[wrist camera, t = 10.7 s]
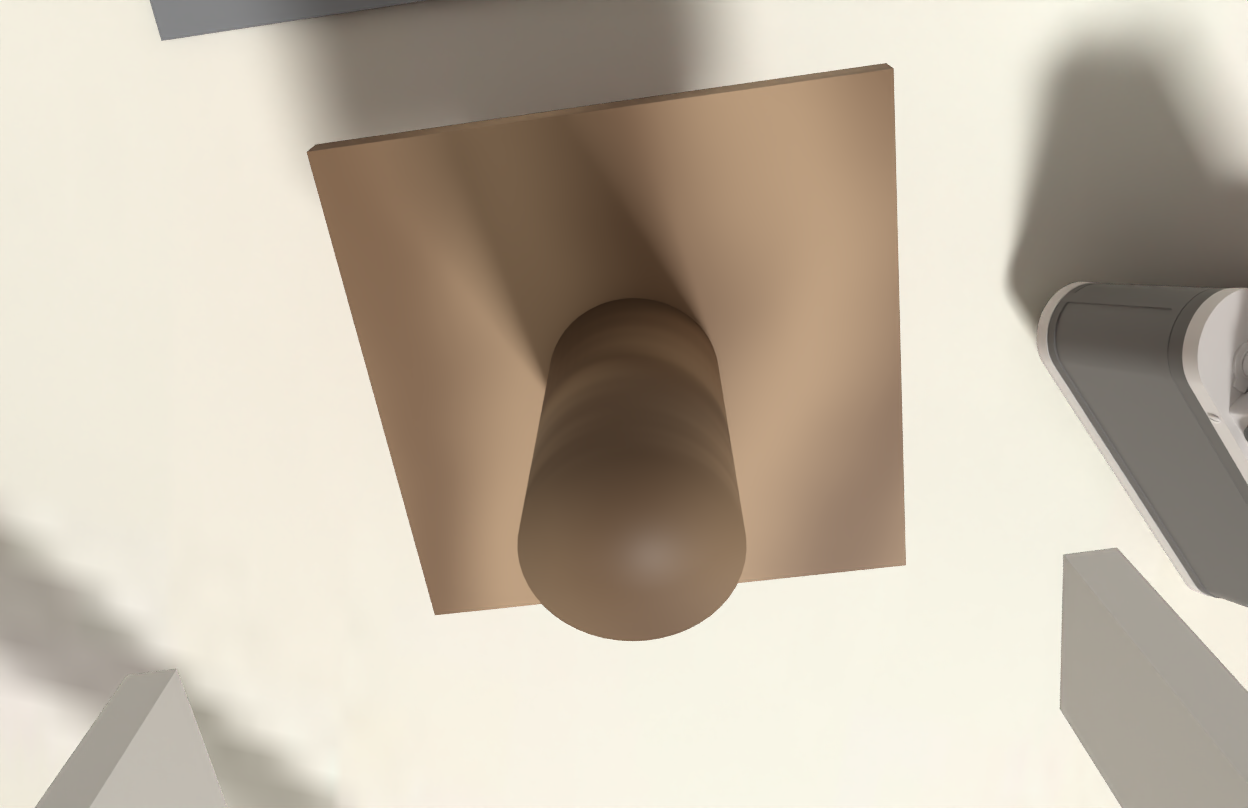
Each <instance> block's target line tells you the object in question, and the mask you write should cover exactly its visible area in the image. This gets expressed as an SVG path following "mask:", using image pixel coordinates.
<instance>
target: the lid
mask: <svg viewBox="0 0 1248 808" xmlns="http://www.w3.org/2000/svg"><path fill="white" fill-rule="evenodd" d="M307 155H308V158H309V162H310V165H311V169H312V173H313V176H314V180H315V183H316V187H317V191H318V194H319V198H320V202H321V205H322V209H323V212H324V216H325V220H326V223H327V227H328V230H329V234H330V238H331V241H332V245H333V248H334V252H335V256H336V259H337V263H338V267H339V270H340V274H341V277H342V281H343V285H344V288H345V292H346V295H347V299H348V303H349V306H350V310H351V314H352V317H353V321H354V324H355V328H356V332H357V335H358V339H359V342H360V346H361V350H362V353H363V357H364V360H365V364H366V368H367V371H368V375H369V379H370V382H371V386H372V389H373V393H374V397H375V400H376V404H377V407H378V411H379V415H380V418H381V422H382V425H383V429H384V433H385V436H386V440H387V444H388V447H389V451H390V454H391V458H392V462H393V465H394V469H395V472H396V476H397V480H398V483H399V487H400V490H401V494H402V498H403V501H404V505H405V509H406V512H407V516H408V519H409V523H410V527H411V530H412V534H413V537H414V541H415V545H416V548H417V552H418V556H419V559H420V563H421V566H422V570H423V574H424V577H425V581H426V584H427V588H428V592H429V595H430V599H431V602H432V606H433V610H434V613H435V615H441V614H450V613H460V612H469V611H479V610H488V609H498V608H507V607H516V606H526V605H535V604H542V605H543V606H544V607H545V608H546V609H548V610H549V611H550V612H551V613H552V614H553V615H554V616H556V617H557V618H559V619H560V620H562V621H563V622H565V623H566V624H568V625H570V626H572V627H574V628H576V629H578V630H581V631H583V632H586V633H588V634H591V635H595V636H598V637H602V638H607V639H613V640H622V641H644V640H652V639H659V638H663V637H667V636H671V635H674V634H677V633H680V632H682V631H685V630H687V629H689V628H691V627H693V626H695V625H697V624H699V623H700V622H702V621H703V620H705V619H706V618H708V617H709V616H711V615H712V614H713V613H714V612H715V611H716V610H717V609H719V608H720V607H721V606H722V604H723V603H724V602H725V601H726V600H727V599H728V598H729V596H730V595H731V593H732V592H733V590H734V589H735V587H736V585H737V583H742V582H752V581H761V580H771V579H780V578H789V577H799V576H808V575H818V574H827V573H836V572H846V571H855V570H865V569H874V568H884V567H893V566H902V565H906V551H905V511H904V471H903V431H902V390H901V350H900V310H899V270H898V229H897V189H896V149H895V109H894V68H892V67H891V66H889V65H888V64H887V63H884V64H877V65H870V66H863V67H856V68H849V69H842V70H835V71H828V72H821V73H814V74H807V75H800V76H793V77H786V78H779V79H772V80H765V81H758V82H751V83H744V84H737V85H730V86H723V87H716V88H709V89H702V90H695V91H688V92H681V93H674V94H667V95H660V96H653V97H646V98H639V99H632V100H625V101H618V102H611V103H604V104H597V105H590V106H583V107H576V108H569V109H562V110H555V111H548V112H541V113H534V114H527V115H520V116H513V117H506V118H499V119H492V120H485V121H478V122H471V123H464V124H457V125H450V126H443V127H436V128H429V129H422V130H415V131H408V132H401V133H394V134H387V135H380V136H373V137H366V138H359V139H352V140H345V141H338V142H331V143H324V144H317V145H315V146H314V147H312V148H311V149H310V150H309V151H307Z"/></svg>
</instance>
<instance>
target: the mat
mask: <svg viewBox="0 0 1248 808" xmlns="http://www.w3.org/2000/svg"><path fill="white" fill-rule="evenodd" d="M419 1H426V0H150V3H151V6H152V9H153V13H154V16H155V20H156V23H157V27H158V30H159V33H160V37H161V40H170V39H176V38H183V37H190V36H196V35H203V34H209V33H216V32H222V31H229V30H235V29H242V28H249V27H255V26H262V25H268V24H275V23H281V22H288V21H295V20H301V19H308V18H314V17H321V16H327V15H334V14H340V13H347V12H354V11H360V10H367V9H373V8H380V7H386V6H393V5H400V4H406V3H413V2H419Z"/></svg>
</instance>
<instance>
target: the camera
mask: <svg viewBox="0 0 1248 808" xmlns="http://www.w3.org/2000/svg"><path fill="white" fill-rule="evenodd" d="M1037 348H1038V352H1039V356H1040V358H1041V360H1042V362H1043V364H1044V366H1045V367H1046V369H1047V370H1048V372H1049V373H1050V375H1051V376H1052V378H1053V380H1054V381H1055V383H1056V384H1057V386H1058V387H1059V389H1060V390H1061V392H1062V393H1063V395H1064V397H1065V398H1066V400H1067V401H1068V403H1069V404H1070V406H1071V407H1072V409H1073V411H1074V412H1075V414H1076V415H1077V417H1078V418H1079V420H1080V421H1081V423H1082V424H1083V426H1084V428H1085V429H1086V431H1087V432H1088V434H1089V435H1090V437H1091V438H1092V440H1093V441H1094V443H1095V445H1096V446H1097V448H1098V449H1099V451H1100V452H1101V454H1102V455H1103V457H1104V458H1105V460H1106V462H1107V463H1108V465H1109V466H1110V468H1111V469H1112V471H1113V472H1114V474H1115V475H1116V477H1117V479H1118V480H1119V482H1120V483H1121V485H1122V486H1123V488H1124V489H1125V491H1126V492H1127V494H1128V496H1129V497H1130V499H1131V500H1132V502H1133V503H1134V505H1135V506H1136V508H1137V509H1138V511H1139V513H1140V514H1141V516H1142V517H1143V519H1144V520H1145V522H1146V523H1147V525H1148V526H1149V528H1150V530H1151V531H1152V533H1153V534H1154V536H1155V537H1156V539H1157V540H1158V542H1159V544H1160V545H1161V547H1162V548H1163V550H1164V551H1165V553H1166V554H1167V556H1168V557H1169V559H1170V561H1171V562H1172V564H1173V565H1174V567H1175V568H1176V570H1177V571H1178V573H1179V574H1180V576H1181V578H1182V579H1183V581H1184V582H1185V583H1186V585H1187V586H1188V587H1189V588H1190V589H1192V590H1194V591H1196V592H1199V593H1202V594H1205V595H1207V596H1212V597H1216V598H1223V599H1226V600H1228V601H1231V602H1234V603H1237V604H1240V605H1243V606H1245V607H1248V288H1203V287H1179V286H1154V285H1129V284H1104V283H1095V282H1075V283H1071V284H1069V285H1067V286H1065V287H1063V288H1061V289H1060V290H1059V291H1057V292H1056V293H1055V294H1054V295H1053V296H1052V297H1051V299H1050V300H1049V301H1048V303H1047V304H1046V306H1045V308H1044V310H1043V312H1042V314H1041V316H1040V320H1039V323H1038V328H1037Z"/></svg>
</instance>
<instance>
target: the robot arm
mask: <svg viewBox="0 0 1248 808" xmlns="http://www.w3.org/2000/svg"><path fill="white" fill-rule="evenodd" d="M1060 710H1061V711H1062V713H1063V715H1064V716H1065V718H1066V719H1067V721H1068V723H1069V724H1070V726H1071V727H1072V729H1073V731H1074V732H1075V734H1076V735H1077V737H1078V739H1079V740H1080V742H1081V743H1082V745H1083V747H1084V748H1085V750H1086V751H1087V753H1088V754H1089V756H1090V758H1091V759H1092V761H1093V762H1094V764H1095V766H1096V767H1097V769H1098V770H1099V772H1100V774H1101V775H1102V777H1103V778H1104V780H1105V782H1106V783H1107V785H1108V786H1109V788H1110V790H1111V791H1112V793H1113V794H1114V796H1115V798H1116V799H1117V801H1118V802H1119V804H1120V806H1121V807H1122V808H1248V691H1247V690H1246V689H1245V688H1244V687H1243V686H1242V685H1241V684H1240V683H1239V682H1238V680H1237V679H1236V678H1235V677H1234V676H1233V675H1232V674H1231V673H1230V672H1229V671H1228V669H1227V668H1226V667H1225V666H1224V665H1223V664H1222V663H1221V662H1220V661H1219V660H1218V658H1217V657H1216V656H1215V655H1214V654H1213V653H1212V652H1211V651H1210V650H1209V649H1208V647H1207V646H1206V645H1205V644H1204V643H1203V642H1202V641H1201V640H1200V639H1199V638H1198V636H1197V635H1196V634H1195V633H1194V632H1193V631H1192V630H1191V629H1190V628H1189V627H1188V625H1187V624H1186V623H1185V622H1184V621H1183V620H1182V619H1181V618H1180V617H1179V615H1178V614H1177V613H1176V612H1175V611H1174V610H1173V609H1172V608H1171V607H1170V606H1169V604H1168V603H1167V602H1166V601H1165V600H1164V599H1163V598H1162V597H1161V596H1160V595H1159V593H1158V592H1157V591H1156V590H1155V589H1154V588H1153V587H1152V586H1151V585H1150V584H1149V582H1148V581H1147V580H1146V579H1145V578H1144V577H1143V576H1142V575H1141V574H1140V573H1139V571H1138V570H1137V569H1136V568H1135V567H1134V566H1133V565H1132V564H1131V563H1130V562H1129V560H1128V559H1127V558H1126V557H1125V556H1124V555H1123V554H1122V553H1121V552H1120V551H1119V549H1118V548H1111V549H1103V550H1095V551H1087V552H1080V553H1072V554H1064V555H1063V594H1062V638H1061V682H1060ZM35 808H228V807H227V804H226V801H225V798H224V796H223V793H222V790H221V787H220V785H219V782H218V779H217V777H216V774H215V771H214V768H213V766H212V763H211V760H210V757H209V755H208V752H207V749H206V747H205V744H204V741H203V738H202V736H201V733H200V730H199V727H198V725H197V722H196V719H195V716H194V714H193V711H192V708H191V706H190V703H189V700H188V697H187V695H186V692H185V689H184V686H183V684H182V681H181V678H180V675H179V673H178V670H177V669H170V670H162V671H155V672H147V673H139V674H131V675H127V676H126V677H125V679H124V680H123V682H122V683H121V684H120V686H119V687H118V689H117V690H116V692H115V693H114V695H113V696H112V697H111V699H110V700H109V702H108V703H107V705H106V706H105V707H104V709H103V710H102V712H101V713H100V715H99V716H98V718H97V719H96V720H95V722H94V723H93V725H92V726H91V728H90V729H89V730H88V732H87V733H86V735H85V736H84V738H83V739H82V741H81V742H80V743H79V745H78V746H77V748H76V749H75V751H74V752H73V754H72V755H71V756H70V758H69V759H68V761H67V762H66V764H65V765H64V766H63V768H62V769H61V771H60V772H59V774H58V775H57V777H56V778H55V779H54V781H53V782H52V784H51V785H50V787H49V788H48V789H47V791H46V792H45V794H44V795H43V797H42V798H41V800H40V801H39V802H38V804H37V805H36V807H35Z"/></svg>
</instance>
